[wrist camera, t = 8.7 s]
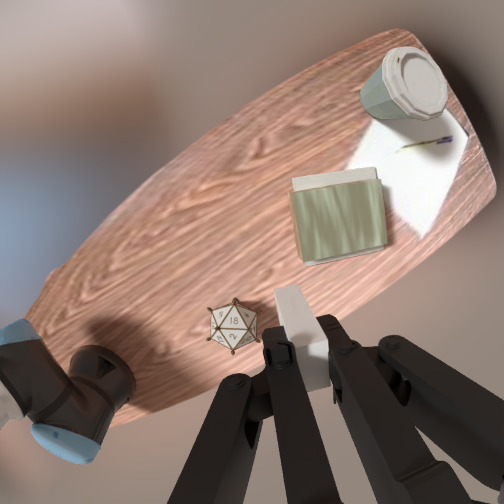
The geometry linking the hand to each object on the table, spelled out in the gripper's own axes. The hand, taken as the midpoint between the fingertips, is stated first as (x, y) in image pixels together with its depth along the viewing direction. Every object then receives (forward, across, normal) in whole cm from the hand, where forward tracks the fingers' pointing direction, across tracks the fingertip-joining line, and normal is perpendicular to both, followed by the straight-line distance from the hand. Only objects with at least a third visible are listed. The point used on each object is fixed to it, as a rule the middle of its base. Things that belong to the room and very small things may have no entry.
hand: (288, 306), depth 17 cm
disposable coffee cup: (+26, +23, +18) cm, 40 cm away
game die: (+27, -7, -13) cm, 30 cm away
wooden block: (+24, +5, 0) cm, 24 cm away
